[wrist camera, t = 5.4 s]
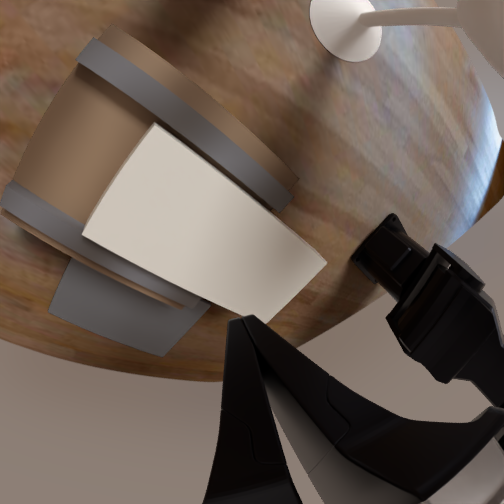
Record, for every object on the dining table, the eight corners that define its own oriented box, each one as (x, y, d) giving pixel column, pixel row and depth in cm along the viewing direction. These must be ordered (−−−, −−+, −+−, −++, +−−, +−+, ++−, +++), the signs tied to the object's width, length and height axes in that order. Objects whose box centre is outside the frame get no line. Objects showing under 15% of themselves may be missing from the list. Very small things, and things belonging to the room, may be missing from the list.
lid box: (272, 160, 19) (306, 183, 15) (174, 273, 21) (183, 318, 17) (120, 38, 11) (109, 19, 7) (25, 187, 13) (-6, 220, 9)
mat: (210, 303, 24) (211, 305, 24) (162, 355, 25) (162, 357, 25) (81, 237, 17) (81, 239, 16) (48, 309, 18) (47, 312, 18)
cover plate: (316, 250, 19) (327, 262, 18) (256, 310, 20) (264, 325, 19) (154, 121, 11) (154, 125, 10) (87, 220, 12) (81, 234, 11)
